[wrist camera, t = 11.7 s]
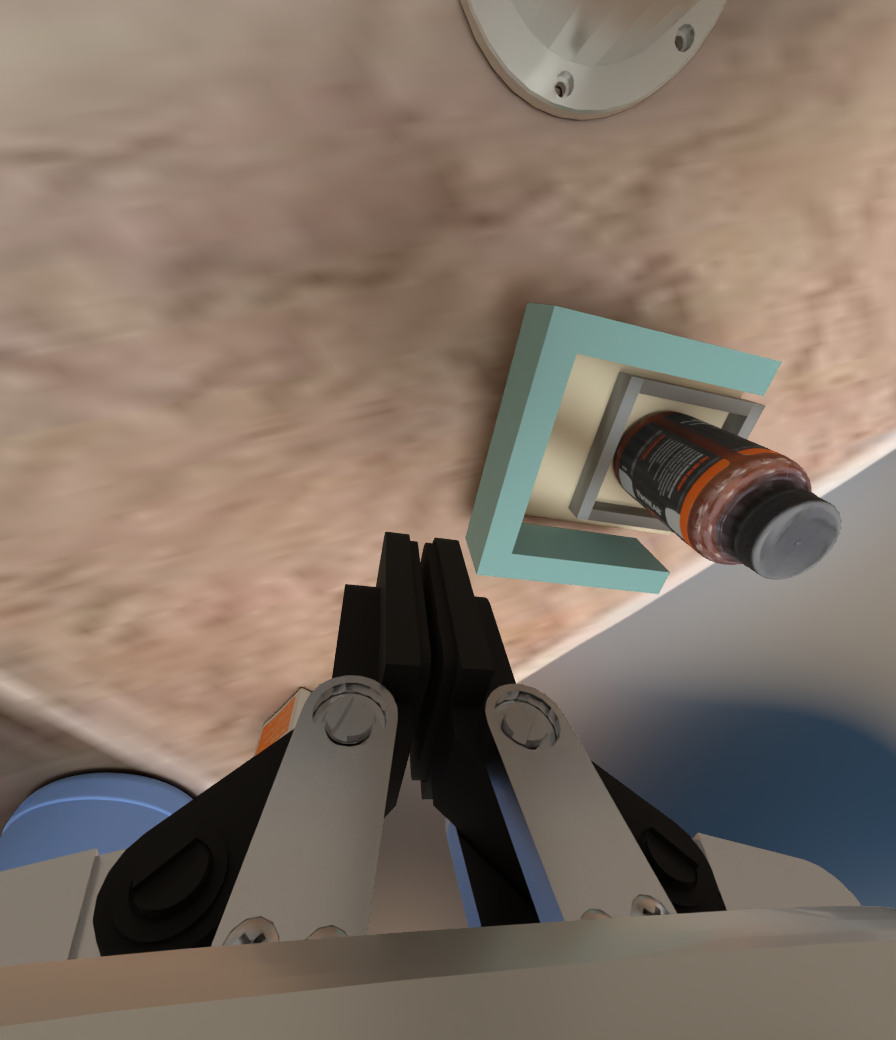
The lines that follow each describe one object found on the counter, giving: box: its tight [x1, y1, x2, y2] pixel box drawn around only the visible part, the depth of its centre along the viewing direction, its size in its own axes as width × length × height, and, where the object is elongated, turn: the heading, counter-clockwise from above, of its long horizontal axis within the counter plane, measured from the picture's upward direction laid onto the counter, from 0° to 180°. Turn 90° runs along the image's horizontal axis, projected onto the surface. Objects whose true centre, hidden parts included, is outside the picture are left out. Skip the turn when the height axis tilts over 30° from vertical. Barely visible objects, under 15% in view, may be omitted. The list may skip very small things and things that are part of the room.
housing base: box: [524, 354, 765, 535], centre depth 28 cm, size 11×12×3 cm
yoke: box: [466, 303, 781, 594], centre depth 24 cm, size 14×12×4 cm
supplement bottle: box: [615, 411, 841, 580], centre depth 23 cm, size 6×6×11 cm
